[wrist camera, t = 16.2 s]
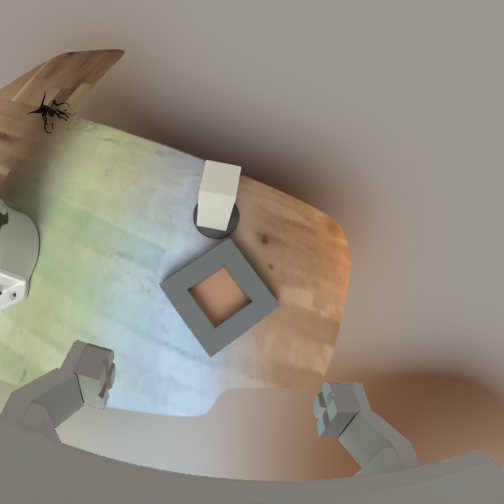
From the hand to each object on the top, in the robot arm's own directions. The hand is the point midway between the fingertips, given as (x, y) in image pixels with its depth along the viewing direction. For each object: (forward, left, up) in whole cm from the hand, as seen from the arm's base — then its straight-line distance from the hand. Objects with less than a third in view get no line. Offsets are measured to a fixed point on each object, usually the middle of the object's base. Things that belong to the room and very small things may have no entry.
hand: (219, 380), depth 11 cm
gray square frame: (+8, +6, -33) cm, 35 cm away
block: (+14, +16, -33) cm, 39 cm away
